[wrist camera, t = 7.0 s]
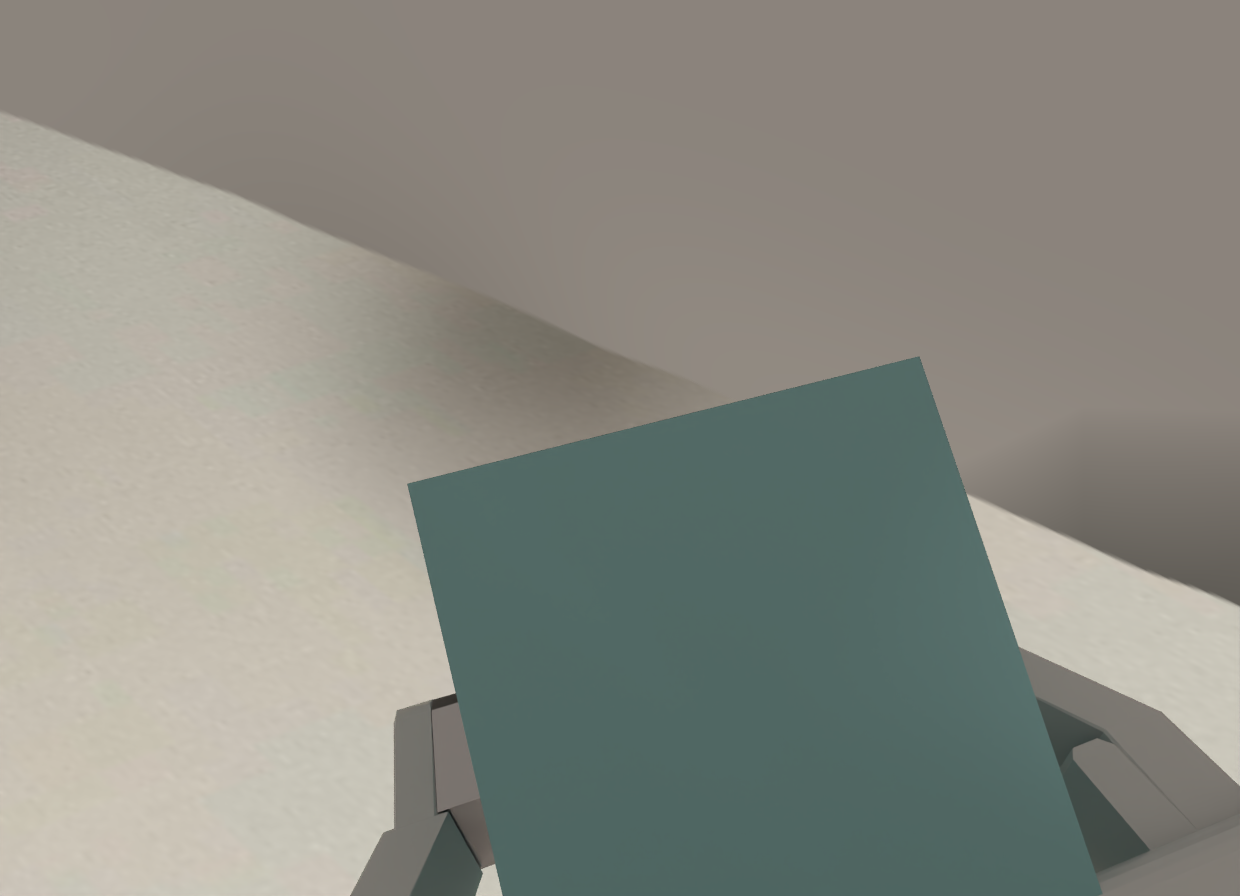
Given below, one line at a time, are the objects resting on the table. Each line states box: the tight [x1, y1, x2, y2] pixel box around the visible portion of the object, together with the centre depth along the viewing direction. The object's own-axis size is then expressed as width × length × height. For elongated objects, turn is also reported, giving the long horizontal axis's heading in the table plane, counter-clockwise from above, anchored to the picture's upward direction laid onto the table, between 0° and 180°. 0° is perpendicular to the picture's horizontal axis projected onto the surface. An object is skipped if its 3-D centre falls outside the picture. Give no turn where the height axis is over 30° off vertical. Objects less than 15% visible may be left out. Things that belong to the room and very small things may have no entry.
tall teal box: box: [408, 357, 1103, 896], centre depth 10 cm, size 5×7×10 cm
